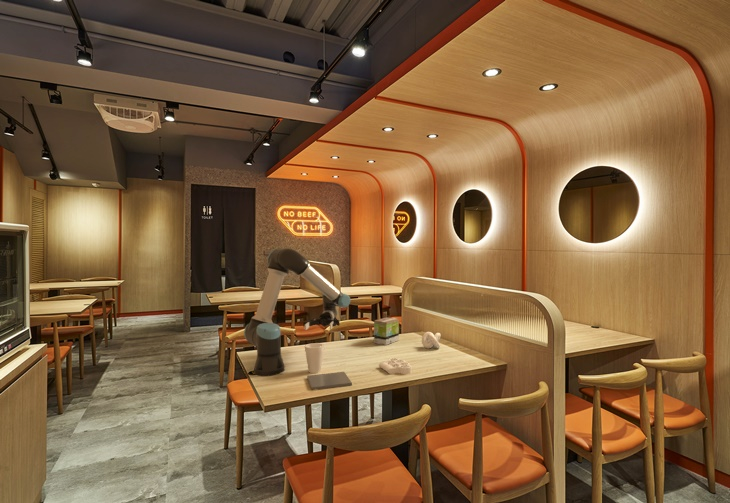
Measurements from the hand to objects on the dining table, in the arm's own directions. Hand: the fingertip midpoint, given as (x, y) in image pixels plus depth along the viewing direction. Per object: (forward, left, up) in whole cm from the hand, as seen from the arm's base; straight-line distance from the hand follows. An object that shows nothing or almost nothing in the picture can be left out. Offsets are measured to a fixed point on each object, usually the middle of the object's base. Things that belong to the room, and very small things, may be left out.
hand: (317, 327), depth 202 cm
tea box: (+50, +34, -20) cm, 64 cm away
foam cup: (-3, -9, -20) cm, 22 cm away
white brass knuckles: (+37, -19, -21) cm, 46 cm away
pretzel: (+71, +12, -20) cm, 75 cm away
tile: (+1, -26, -20) cm, 33 cm away
